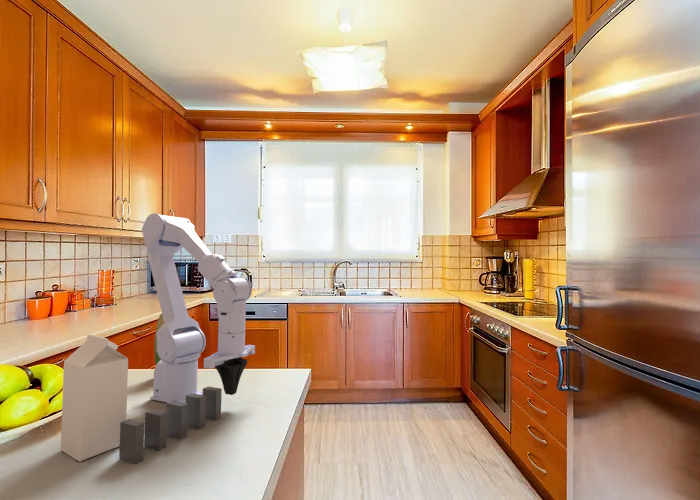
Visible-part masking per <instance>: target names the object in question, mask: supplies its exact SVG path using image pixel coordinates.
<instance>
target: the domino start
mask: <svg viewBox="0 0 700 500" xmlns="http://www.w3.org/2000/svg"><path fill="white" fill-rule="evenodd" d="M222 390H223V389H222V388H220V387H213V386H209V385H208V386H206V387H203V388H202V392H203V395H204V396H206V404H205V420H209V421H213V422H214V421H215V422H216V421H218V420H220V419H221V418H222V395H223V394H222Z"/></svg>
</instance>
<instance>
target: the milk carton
mask: <svg viewBox="0 0 700 500" xmlns="http://www.w3.org/2000/svg"><path fill="white" fill-rule="evenodd" d="M86 336H87V337H86V341H84V343H82V344H81V345H80V346H79V347H78V348H77V349H76V350H74V352H72V353H71V354H70V355H69V356H68V357H67V358H66V359H65V360H63V376H62V377H63V380H62V402H61V403H62V405H61V433H60V450H61V451H62V452H64V453H65V454H66V455H68V456H69V457H71V458H72V459H75V460H76V461H78V462H82V461H85V460H88V459H90V458H92V457H95V456H98V455H101V454H103V453H105V452H108V451H111V450H113V449H115V448H116V449H117V448H120V422H122V421H125V420H127V408H128V404H127V402H128V375H129V358H128V357H127V356H125V355H123V354H122V353H121V352H119V351H117V349H119V346H118V345H117V344H116V343H114V342H113V341H110V340H109V338H105V337H102V336H97V335H94V334H87V335H86Z"/></svg>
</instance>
